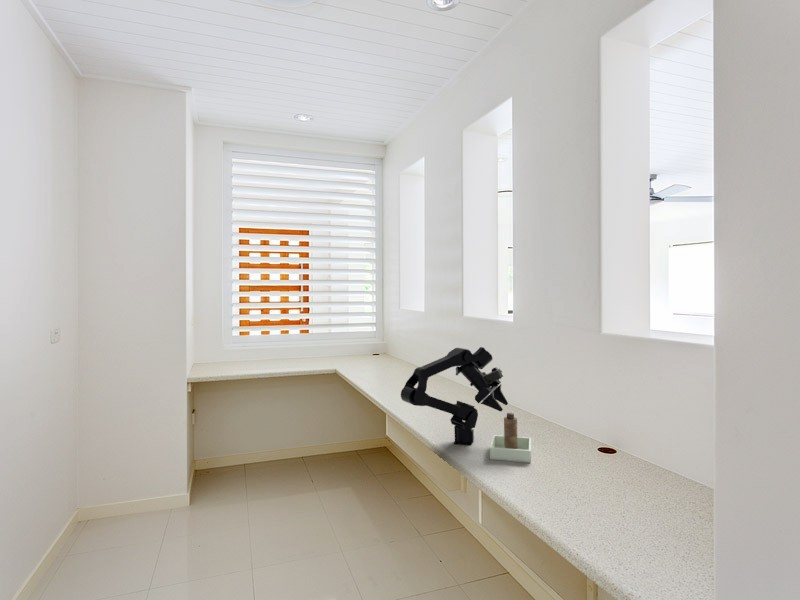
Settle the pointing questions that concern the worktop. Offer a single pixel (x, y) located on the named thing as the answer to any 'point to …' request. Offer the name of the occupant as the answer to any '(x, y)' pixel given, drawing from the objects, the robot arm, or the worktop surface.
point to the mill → (510, 431)
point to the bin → (511, 450)
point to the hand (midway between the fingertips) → (504, 407)
